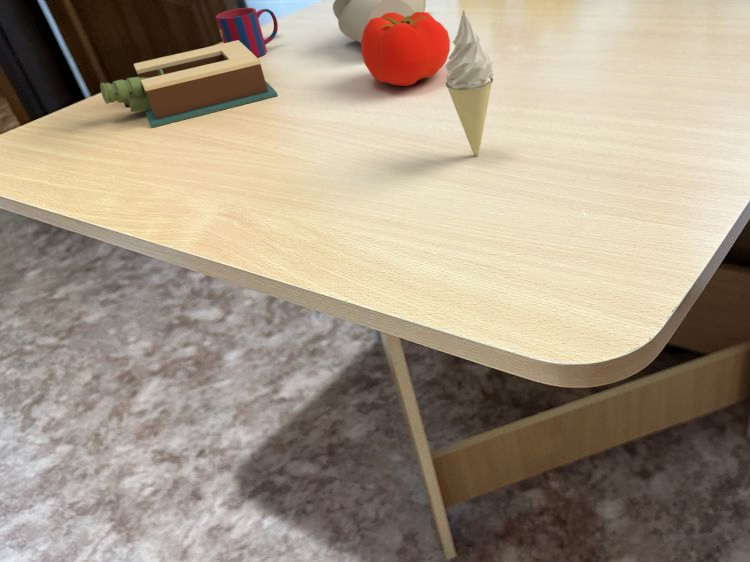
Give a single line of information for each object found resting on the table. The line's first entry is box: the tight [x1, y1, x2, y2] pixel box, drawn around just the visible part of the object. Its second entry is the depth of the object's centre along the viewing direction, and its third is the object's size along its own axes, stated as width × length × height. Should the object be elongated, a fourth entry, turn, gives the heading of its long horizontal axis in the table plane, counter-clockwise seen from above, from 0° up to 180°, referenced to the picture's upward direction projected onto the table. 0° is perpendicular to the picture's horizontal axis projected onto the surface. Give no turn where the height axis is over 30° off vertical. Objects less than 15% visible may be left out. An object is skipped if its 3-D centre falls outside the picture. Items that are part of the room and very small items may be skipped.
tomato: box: [360, 11, 451, 87], centre depth 97 cm, size 14×13×9 cm
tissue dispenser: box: [133, 40, 278, 128], centre depth 102 cm, size 18×16×5 cm
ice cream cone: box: [444, 9, 495, 157], centre depth 72 cm, size 5×5×15 cm
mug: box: [215, 7, 279, 59], centre depth 118 cm, size 7×10×7 cm
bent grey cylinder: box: [332, 0, 427, 44], centre depth 115 cm, size 18×11×20 cm
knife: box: [99, 69, 164, 113], centre depth 101 cm, size 4×18×5 cm, turn 128°
